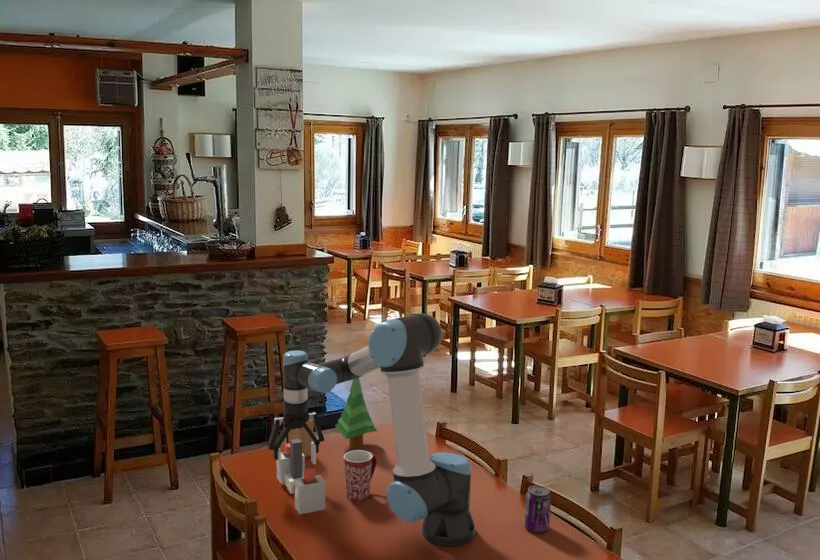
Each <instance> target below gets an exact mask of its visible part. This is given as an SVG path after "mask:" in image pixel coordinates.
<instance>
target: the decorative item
mask: <svg viewBox="0 0 820 560" xmlns="http://www.w3.org/2000/svg"><path fill="white" fill-rule="evenodd" d="M306 424H307V426H308V427H309V428H310V430H311V431H312V433H313V434H314V424H313V421H312V420H311V419H310V418H309V419H308V420H307V422H306ZM294 439H300V440H301V441H302V453H303V454H304V455H305V459H306V458H309V457H311V442H314V441H313V440H312V438H311V437H310V435H309V434H308V433H307V431H306V430H305V429H304V427H302V428H300V429H299V428H296V429H293V430H292V429H291V430H290V432H289V433H288V444H289V443H290V440H294Z"/></svg>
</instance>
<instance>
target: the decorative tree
mask: <svg viewBox="0 0 820 560" xmlns="http://www.w3.org/2000/svg"><path fill="white" fill-rule="evenodd" d="M351 381H352V382H351V386H350V389H349V394H348V397H347V399H346V403H345V405H344V407H343V410H342V412H341V413H340V418H339V419H337V422H338V423H336V424H335V425H334V426H335V429H337V430H338V432H339V433H340V434H341V435H342V436H343V438H344V439H345V440H348V439H349V447H350V448H351V449H360V448H362V447H363V446H364V434H367V433H375V432H378V430H377V428H376V427H375V424H374V422H373V420H372V418H371V416H370V413H369V410H368V408H367V406H366V403H365V398H364V394H363V388H362V386H361V381H360V378H357V379H354V380H351Z"/></svg>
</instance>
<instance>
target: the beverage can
mask: <svg viewBox="0 0 820 560" xmlns="http://www.w3.org/2000/svg"><path fill="white" fill-rule="evenodd" d="M550 492H551V491H550V489H549V488H548V487H546V486H543V485H531V486H529V487H528V488H527V492H526V495H525V511H524V512H525V513H524V527H525V528H526V529H527V530H528V531H530V530H531V532H532V531H534V532H533V533H536V532H541V533H545V532H547V531H549V529H550V518H551V505H552V504H551V503H552V500H551V499H552V496H551V493H550ZM544 531H545V532H544Z"/></svg>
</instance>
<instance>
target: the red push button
mask: <svg viewBox="0 0 820 560" xmlns="http://www.w3.org/2000/svg"><path fill="white" fill-rule="evenodd" d="M284 452H285V455H286V456H290V443H289V442H288V443H286V444H285V445H284Z"/></svg>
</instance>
